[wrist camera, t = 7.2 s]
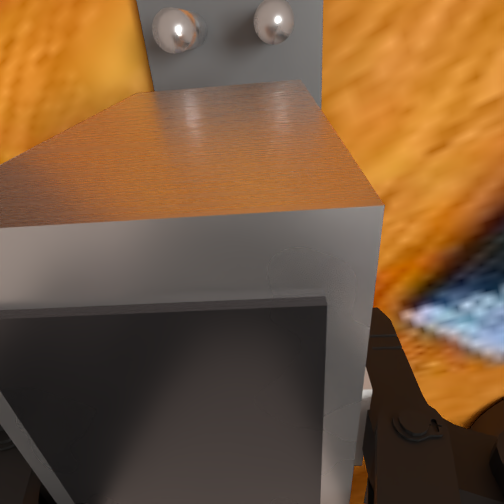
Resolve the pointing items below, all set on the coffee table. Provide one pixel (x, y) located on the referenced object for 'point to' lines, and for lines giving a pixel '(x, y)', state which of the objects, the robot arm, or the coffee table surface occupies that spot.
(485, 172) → the coffee table surface
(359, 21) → the coffee table surface
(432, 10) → the coffee table surface
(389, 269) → the coffee table surface
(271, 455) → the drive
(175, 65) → the pin tray
